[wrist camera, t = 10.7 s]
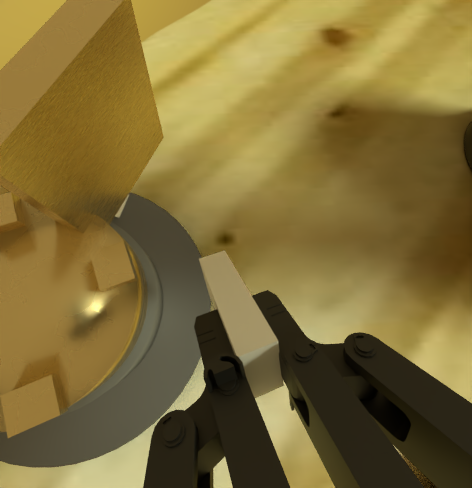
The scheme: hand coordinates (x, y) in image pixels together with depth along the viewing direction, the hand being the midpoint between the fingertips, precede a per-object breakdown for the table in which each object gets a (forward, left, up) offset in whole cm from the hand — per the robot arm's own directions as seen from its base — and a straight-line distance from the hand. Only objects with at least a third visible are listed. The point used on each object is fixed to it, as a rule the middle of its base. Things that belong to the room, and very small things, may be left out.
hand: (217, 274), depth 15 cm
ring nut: (+5, -9, -5) cm, 11 cm away
